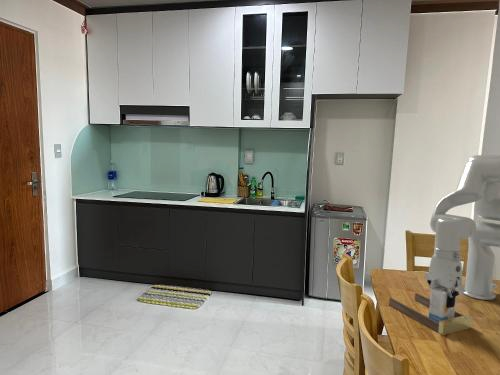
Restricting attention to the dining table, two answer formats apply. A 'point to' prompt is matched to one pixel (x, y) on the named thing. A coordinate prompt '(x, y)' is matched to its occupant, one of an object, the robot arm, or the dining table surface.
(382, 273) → the dining table surface
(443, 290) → the ink box
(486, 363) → the dining table surface
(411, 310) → the slide guide
